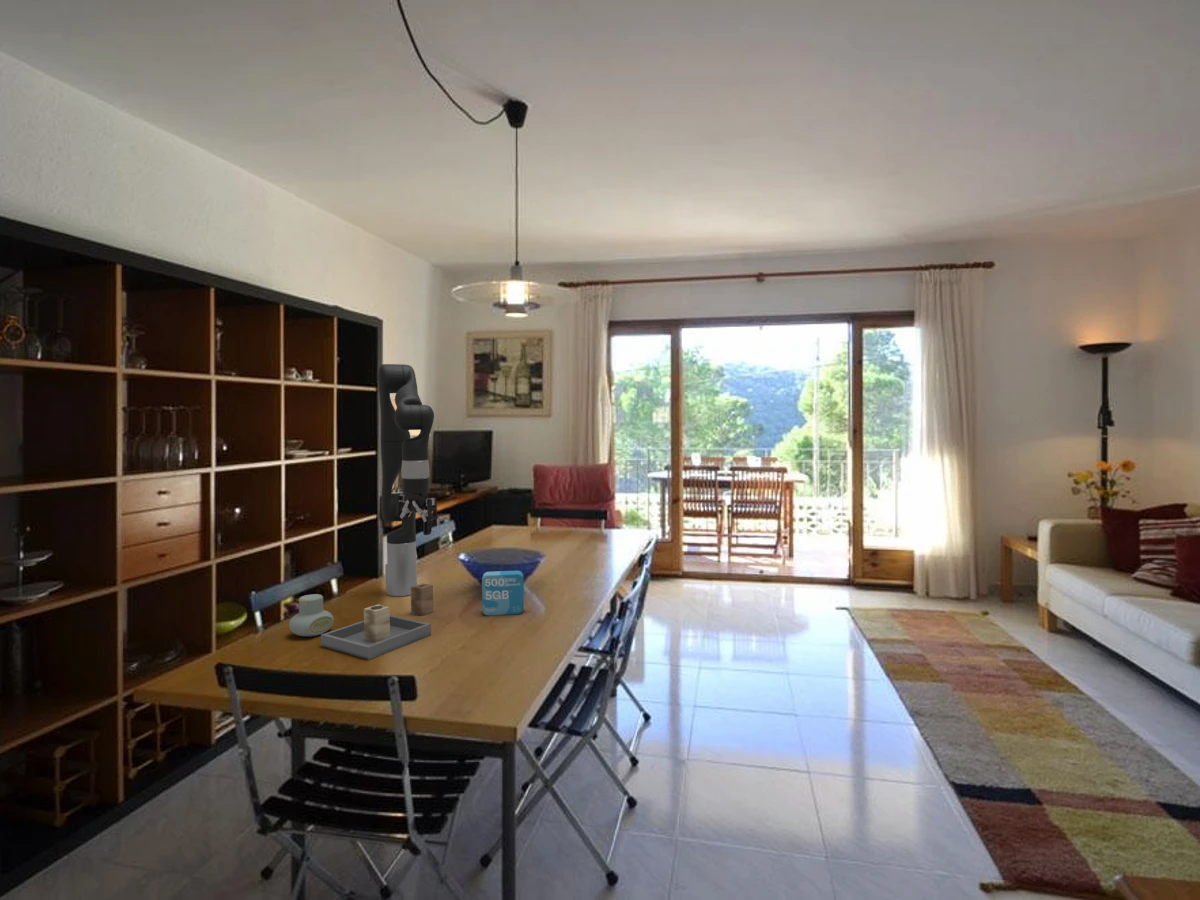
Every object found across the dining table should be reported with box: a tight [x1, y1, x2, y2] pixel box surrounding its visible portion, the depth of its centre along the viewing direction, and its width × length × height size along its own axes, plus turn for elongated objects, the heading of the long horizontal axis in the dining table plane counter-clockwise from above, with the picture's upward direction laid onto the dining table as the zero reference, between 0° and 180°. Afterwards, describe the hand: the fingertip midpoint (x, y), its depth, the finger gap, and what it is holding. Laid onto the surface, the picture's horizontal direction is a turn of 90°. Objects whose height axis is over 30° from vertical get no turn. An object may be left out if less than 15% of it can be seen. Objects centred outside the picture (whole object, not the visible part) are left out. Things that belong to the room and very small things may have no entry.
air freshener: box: [288, 593, 335, 638], centre depth 169 cm, size 11×8×10 cm
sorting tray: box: [320, 614, 432, 661], centre depth 163 cm, size 18×20×3 cm
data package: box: [481, 570, 525, 617], centre depth 186 cm, size 12×4×12 cm, turn 98°
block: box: [363, 604, 391, 642], centre depth 163 cm, size 4×4×8 cm
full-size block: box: [410, 583, 434, 616], centre depth 187 cm, size 4×4×8 cm
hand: (416, 532), depth 178 cm, fingers open, 8 cm apart
